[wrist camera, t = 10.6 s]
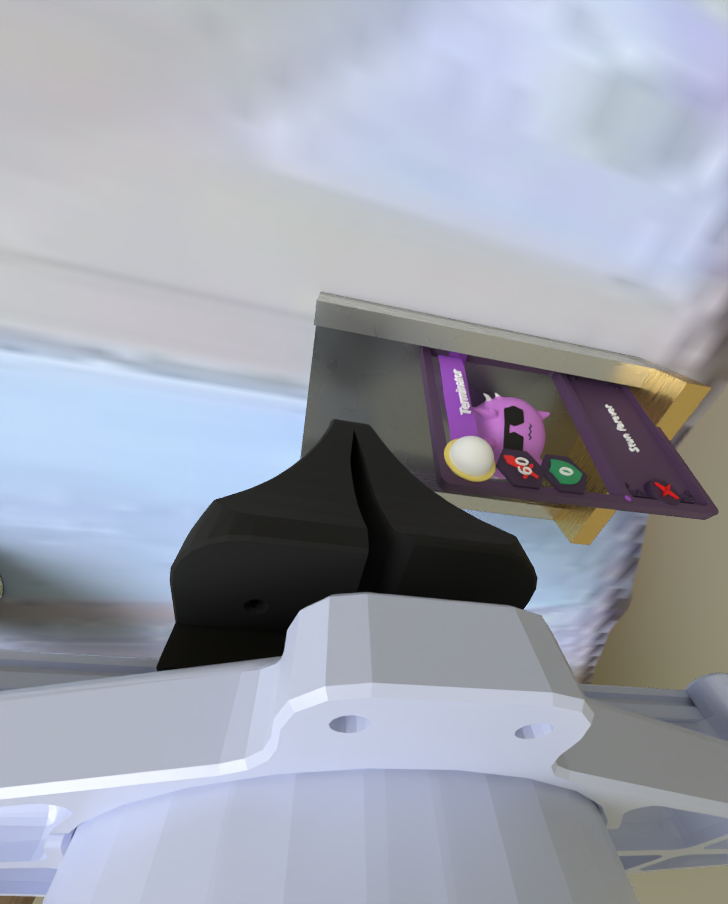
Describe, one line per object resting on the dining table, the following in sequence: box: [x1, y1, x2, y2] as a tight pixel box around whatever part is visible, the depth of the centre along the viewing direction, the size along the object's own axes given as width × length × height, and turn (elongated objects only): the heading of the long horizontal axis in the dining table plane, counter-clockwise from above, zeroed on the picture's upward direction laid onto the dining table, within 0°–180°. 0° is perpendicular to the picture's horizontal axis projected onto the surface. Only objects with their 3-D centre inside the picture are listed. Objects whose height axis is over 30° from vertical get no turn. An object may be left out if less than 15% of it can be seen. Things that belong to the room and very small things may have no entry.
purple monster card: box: [419, 346, 718, 520], centre depth 13 cm, size 7×5×9 cm
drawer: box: [300, 292, 711, 545], centre depth 15 cm, size 8×14×4 cm, turn 79°
